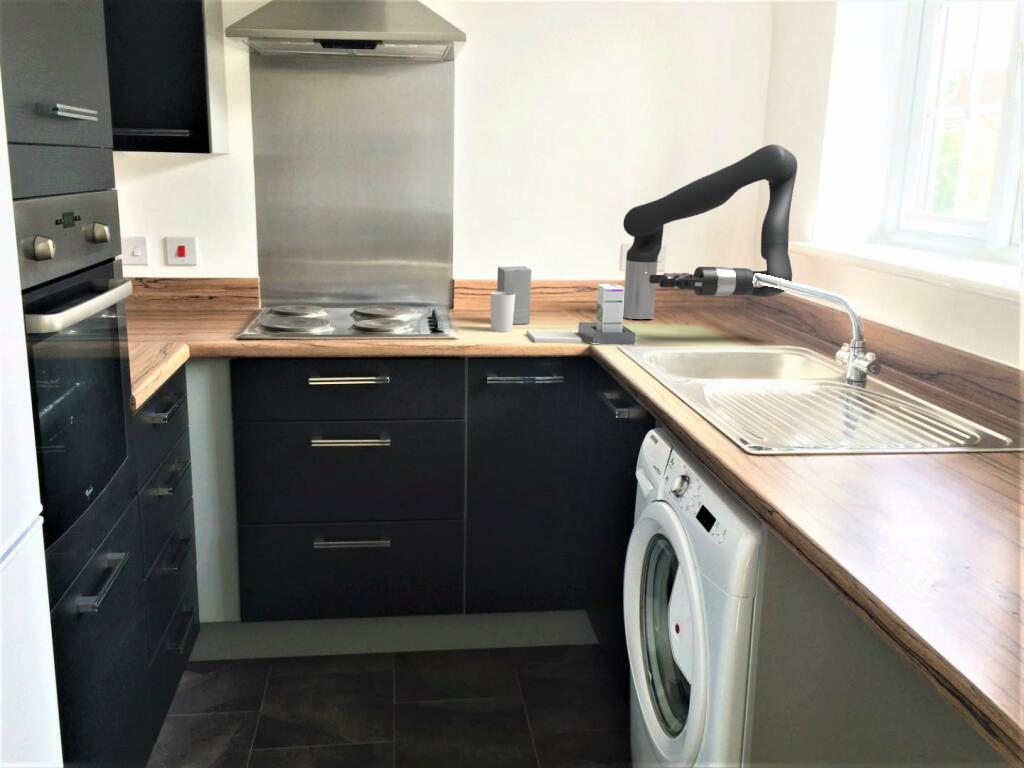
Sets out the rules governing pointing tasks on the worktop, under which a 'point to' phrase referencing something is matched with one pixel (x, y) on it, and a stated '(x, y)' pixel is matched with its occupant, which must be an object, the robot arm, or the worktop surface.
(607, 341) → the dark grey tray
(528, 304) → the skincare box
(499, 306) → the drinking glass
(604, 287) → the syrup box
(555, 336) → the off-white mat
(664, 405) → the worktop surface
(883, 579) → the worktop surface
